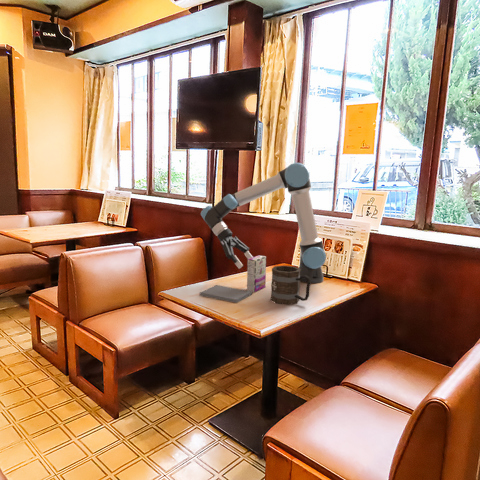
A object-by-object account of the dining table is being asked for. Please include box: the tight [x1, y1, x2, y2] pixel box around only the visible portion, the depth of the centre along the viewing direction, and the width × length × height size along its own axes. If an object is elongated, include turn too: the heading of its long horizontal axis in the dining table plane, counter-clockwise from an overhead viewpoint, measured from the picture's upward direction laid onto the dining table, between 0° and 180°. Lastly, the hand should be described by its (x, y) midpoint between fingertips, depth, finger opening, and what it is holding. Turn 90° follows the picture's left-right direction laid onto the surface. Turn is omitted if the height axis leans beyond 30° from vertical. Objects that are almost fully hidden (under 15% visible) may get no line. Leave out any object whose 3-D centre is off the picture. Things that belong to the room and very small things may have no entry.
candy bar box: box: [246, 255, 267, 293], centre depth 204 cm, size 11×5×16 cm, turn 148°
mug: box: [270, 265, 312, 306], centre depth 186 cm, size 20×14×15 cm
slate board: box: [199, 284, 253, 304], centre depth 194 cm, size 20×15×2 cm
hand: (247, 264), depth 205 cm, fingers open, 13 cm apart
